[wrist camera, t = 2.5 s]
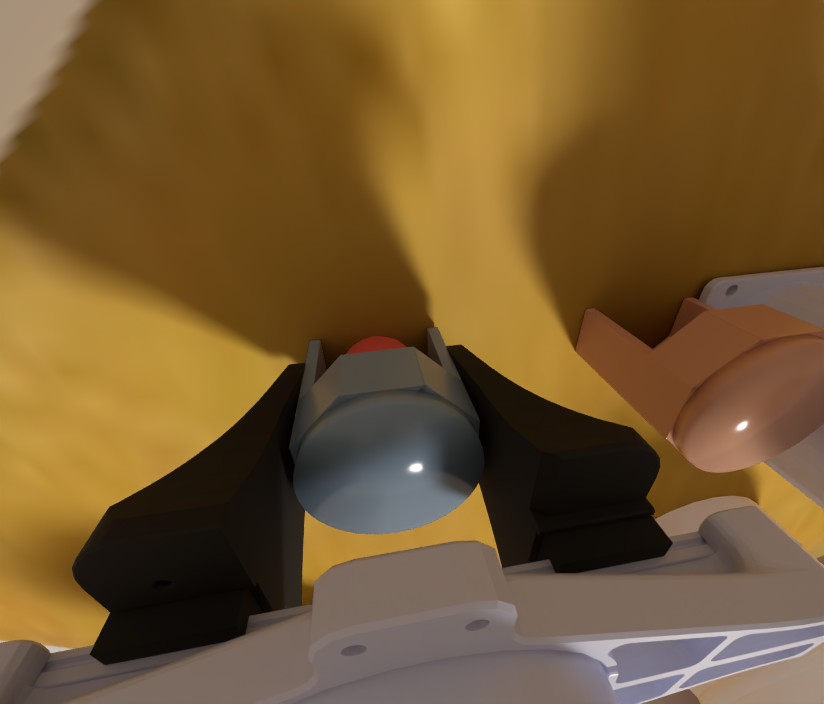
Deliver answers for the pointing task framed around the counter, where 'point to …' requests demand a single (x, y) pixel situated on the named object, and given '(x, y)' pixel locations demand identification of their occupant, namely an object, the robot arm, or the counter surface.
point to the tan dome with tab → (717, 380)
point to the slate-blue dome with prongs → (384, 438)
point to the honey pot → (767, 685)
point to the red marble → (375, 345)
